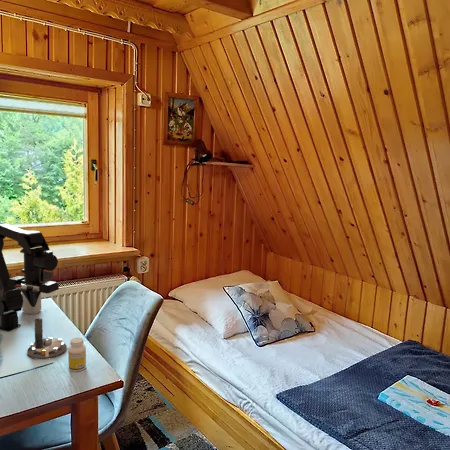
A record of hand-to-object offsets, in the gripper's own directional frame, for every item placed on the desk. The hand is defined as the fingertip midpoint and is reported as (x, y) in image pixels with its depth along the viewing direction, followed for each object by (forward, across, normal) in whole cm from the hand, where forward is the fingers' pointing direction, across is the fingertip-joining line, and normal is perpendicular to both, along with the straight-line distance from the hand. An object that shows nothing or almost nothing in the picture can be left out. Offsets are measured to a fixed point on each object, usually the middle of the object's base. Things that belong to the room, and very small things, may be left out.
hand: (33, 306), depth 159 cm
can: (+12, +19, -20) cm, 30 cm away
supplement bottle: (+12, -29, +13) cm, 34 cm away
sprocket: (+11, -12, +7) cm, 18 cm away
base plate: (+12, -12, +7) cm, 18 cm away
